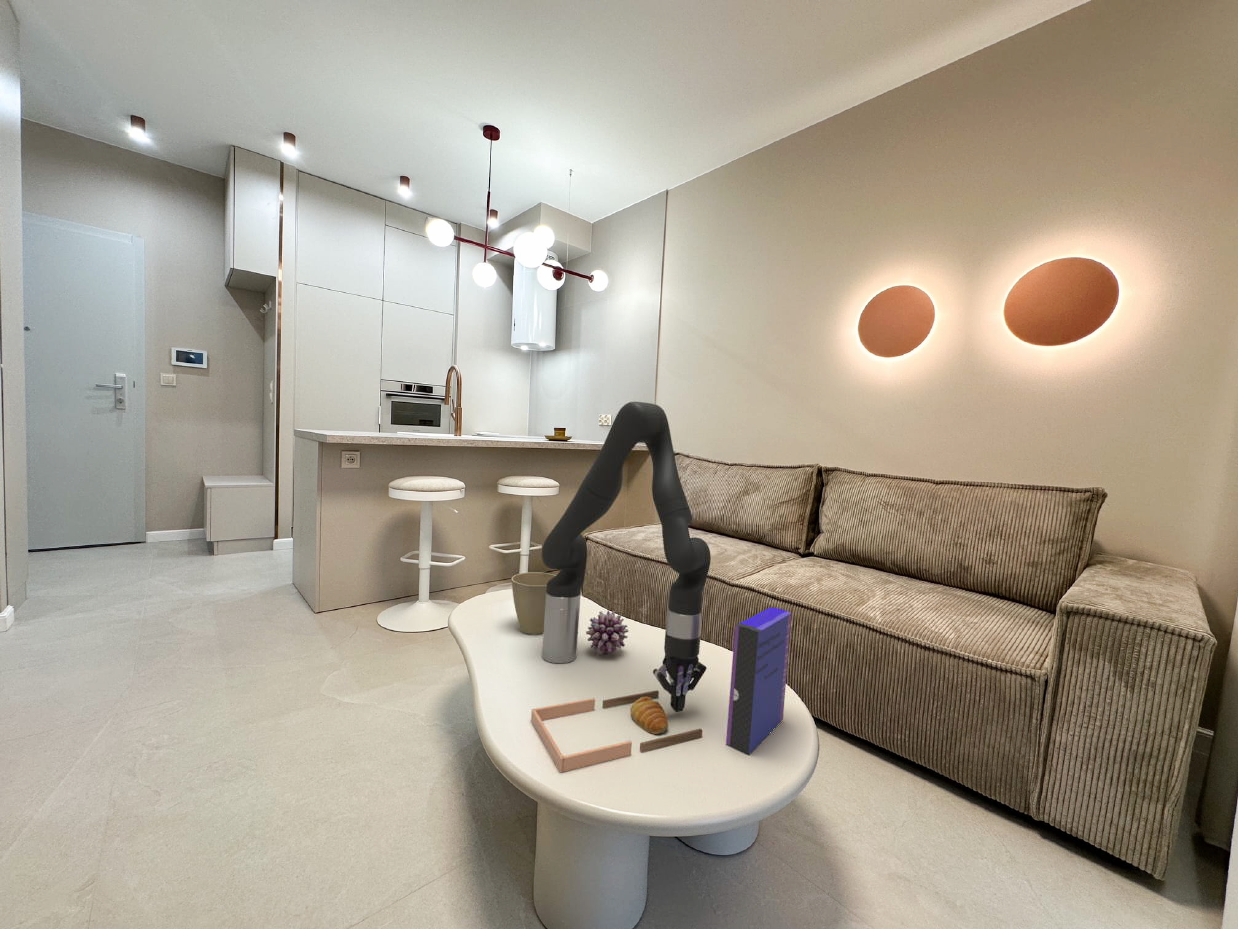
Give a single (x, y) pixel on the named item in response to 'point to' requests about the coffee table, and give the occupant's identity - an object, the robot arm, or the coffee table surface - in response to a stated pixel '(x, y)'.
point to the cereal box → (758, 678)
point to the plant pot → (530, 600)
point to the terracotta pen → (578, 758)
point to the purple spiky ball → (607, 632)
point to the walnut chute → (656, 742)
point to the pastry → (649, 715)
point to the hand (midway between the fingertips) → (677, 710)
